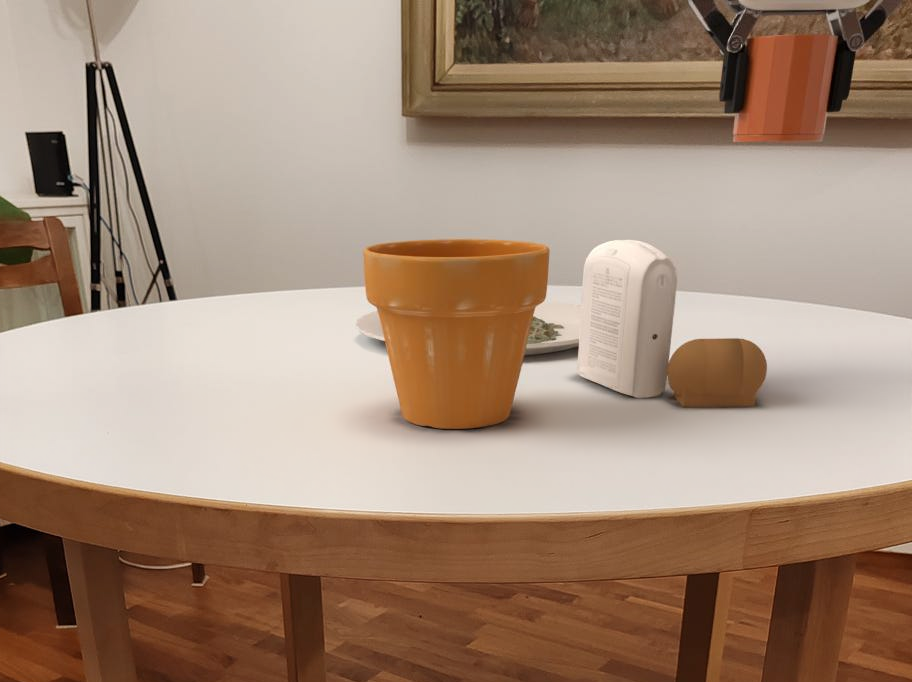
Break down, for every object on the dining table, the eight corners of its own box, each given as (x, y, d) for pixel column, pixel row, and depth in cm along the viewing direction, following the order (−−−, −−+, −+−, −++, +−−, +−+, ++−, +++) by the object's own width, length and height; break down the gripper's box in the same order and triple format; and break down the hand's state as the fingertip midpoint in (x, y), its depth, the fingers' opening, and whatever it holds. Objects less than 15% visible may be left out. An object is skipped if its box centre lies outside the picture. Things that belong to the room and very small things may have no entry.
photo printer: (673, 395, 86) (688, 244, 80) (631, 401, 84) (644, 247, 79) (609, 373, 94) (619, 234, 89) (570, 377, 93) (577, 236, 87)
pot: (807, 140, 81) (821, 41, 78) (834, 141, 75) (851, 33, 72) (723, 141, 81) (735, 42, 78) (744, 142, 75) (757, 34, 72)
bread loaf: (752, 393, 86) (761, 332, 84) (770, 408, 82) (779, 344, 79) (659, 394, 86) (664, 333, 84) (671, 409, 82) (677, 345, 79)
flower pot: (426, 389, 89) (424, 235, 83) (570, 407, 83) (579, 241, 77) (335, 425, 79) (325, 252, 73) (492, 449, 72) (495, 261, 66)
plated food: (655, 324, 117) (657, 294, 116) (566, 374, 94) (567, 338, 92) (432, 309, 130) (432, 282, 128) (304, 350, 106) (302, 318, 105)
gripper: (707, -189, 66) (678, 113, 74) (970, -195, 65) (912, 110, 73) (684, -160, 72) (661, 114, 81) (923, -164, 72) (875, 112, 80)
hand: (781, 110), depth 77 cm, fingers closed on pot, 6 cm apart
